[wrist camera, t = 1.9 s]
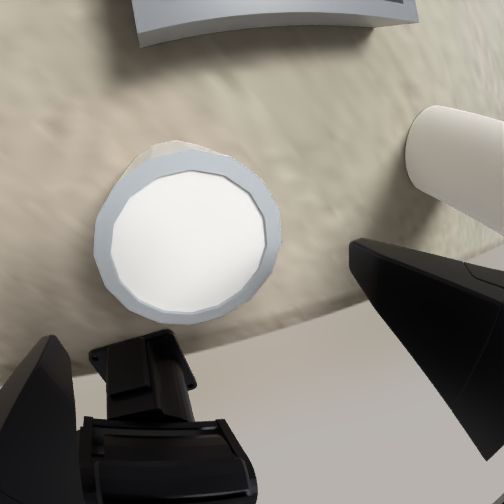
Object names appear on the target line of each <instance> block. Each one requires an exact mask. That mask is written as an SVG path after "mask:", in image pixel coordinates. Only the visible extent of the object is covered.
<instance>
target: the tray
mask: <svg viewBox="0 0 504 504" xmlns="http://www.w3.org/2000/svg"><path fill="white" fill-rule="evenodd" d="M131 1H132V7H133V13H134V18H135V24H136V30H137V35H138V41H139V46H140V48H143V47H147V46H151V45H155V44H159V43H164V42H168V41H173V40H177V39H182V38H187V37H193V36H198V35H204V34H210V33H217V32H224V31H232V30H240V29H249V28H260V27H274V26H295V25H338V26H359V27H372V28H376V27H384V26H392V25H400V24H411V23H419V20H418V14H417V8H416V3H415V0H131Z"/></svg>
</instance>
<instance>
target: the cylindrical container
mask: <svg viewBox="0 0 504 504" xmlns="http://www.w3.org/2000/svg"><path fill="white" fill-rule="evenodd" d="M405 162H406V169H407V172H408V176H409V178H410V180H411V182H412V183H413V184H414V186H415V187H416V188H417V189H419V190H420V191H422V192H424V193H426V194H428V195H430V196H432V197H434V198H436V199H438V200H440V201H442V202H444V203H446V204H448V205H450V206H452V207H454V208H455V209H457V210H459V211H461V212H463V213H465V214H467V215H468V216H470V217H472V218H474V219H475V220H477V221H479V222H481V223H482V224H484V225H486V226H488V227H489V228H491V229H493V230H494V231H496V232H498V233H499V234H501V235H503V236H504V121H500V120H497V119H493V118H490V117H486V116H482V115H478V114H474V113H470V112H466V111H462V110H458V109H453V108H449V107H444V106H436V105H434V106H430V107H428V108H426V109H424V110H423V111H422V112H421V113H420V114H419V115H418V116H417V117H416V119H415V120H414V122H413V124H412V126H411V128H410V130H409V134H408V137H407V142H406V147H405Z"/></svg>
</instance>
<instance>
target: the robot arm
mask: <svg viewBox="0 0 504 504" xmlns="http://www.w3.org/2000/svg"><path fill="white" fill-rule="evenodd" d="M349 268H350V271H351V273H352V274H353V276H354V278H355V279H356V281H357V282H358V284H359V285H360V287H361V288H362V290H363V291H364V293H365V295H366V296H367V298H368V299H369V301H370V302H371V304H372V305H373V307H374V308H375V310H376V311H377V312H378V314H379V315H380V316H381V317H382V319H383V320H384V321H385V322H386V324H387V325H388V326H389V327H390V329H391V330H392V331H393V333H394V334H395V335H396V336H397V338H398V339H399V340H400V342H402V344H403V345H404V347H405V348H406V349H407V351H408V352H409V353H410V355H411V356H412V357H413V358H414V360H415V361H416V362H417V364H418V365H419V366H420V368H421V369H422V370H423V372H424V373H425V374H426V376H427V377H428V378H429V380H430V381H431V383H432V384H433V385H434V387H435V388H436V389H437V391H438V392H439V394H440V395H441V396H442V398H443V399H444V401H445V402H446V403H447V405H448V406H449V407H450V409H451V410H452V412H453V413H454V415H455V416H456V418H457V419H458V421H459V422H460V424H461V425H462V427H463V428H464V429H465V431H466V432H467V434H468V435H469V437H470V438H471V440H472V441H473V443H474V444H475V446H476V447H477V449H478V450H479V452H480V453H481V455H482V456H483V458H484V459H485V460H486V461H488V460H489V459H490V458H491V457H492V456H493V455H494V454H495V453H496V452H497V451H498V450H499V449H500V448H501V447H502V446H503V445H504V271H500V270H495V269H491V268H486V267H482V266H477V265H474V264H470V263H466V262H464V263H463V262H462V261H458V260H454V259H450V258H446V257H442V256H438V255H434V254H430V253H426V252H421V251H417V250H413V249H409V248H405V247H400V246H396V245H392V244H387V243H383V242H379V241H374V240H370V239H365V238H359V239H357V240H354V241H351V242H350V244H349ZM166 336H169V337H168V338H165V337H166ZM94 356H96V357H94ZM89 360H90V362H91V363H92V365H93V366H94V367H95V369H96V370H97V372H98V373H99V374H100V376H101V377H102V378H103V380H104V381H105V382H106V393H107V420H105V419H94V418H93V417H88V416H84V423H83V427H80V430H78V431H76V412H75V399H74V391H73V382H72V372H71V361H70V357H69V355H68V353H67V352H66V350H65V349H64V347H63V346H62V344H61V343H60V341H59V340H58V338H57V337H56V336H55V335H48V336H44V337H42V338H41V339H40V340H39V341H38V343H37V344H36V345H35V346H34V347H33V349H32V350H31V351H30V352H29V353H28V355H27V356H26V357H25V358H24V360H23V361H22V362H21V363H20V365H19V366H18V367H17V368H16V370H15V371H14V372H13V374H12V375H11V376H10V377H9V379H8V380H7V381H6V383H5V384H4V385H3V387H2V388H1V389H0V504H256V500H257V495H258V489H257V480H256V476H255V472H254V469H253V467H252V464H251V462H250V460H249V458H248V457H247V455H246V453H245V452H244V451H243V449H242V447H241V446H240V444H239V442H238V441H237V439H236V437H235V436H234V434H233V432H232V431H231V429H230V427H229V426H228V424H227V423H226V421H225V419H217V420H215V421H202V422H195V420H194V416H193V412H192V408H191V404H190V400H189V395H188V391H189V390H192V389H195V388H196V386H197V383H196V380H195V378H194V376H193V374H192V372H191V370H190V367H189V365H188V363H187V361H186V359H185V357H184V355H183V353H182V350H181V348H180V346H179V344H178V342H177V339H176V337H175V335H174V333H173V332H172V331H171V330H168V329H167V330H162V331H159V332H155V333H152V334H148V335H145V336H141V337H138V338H134V339H131V340H127V341H124V342H120V343H117V344H113V345H109V346H106V347H102V348H98V349H94V350H92V351H90V352H89ZM493 504H504V494H502V496H500V498H498V499H497V500H496V501H495V502H494V503H493Z"/></svg>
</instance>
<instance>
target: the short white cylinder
mask: <svg viewBox="0 0 504 504" xmlns="http://www.w3.org/2000/svg"><path fill="white" fill-rule="evenodd" d="M281 243H282V239H281V224H280V210H279V208H278V206H277V204H276V203H275V201H274V199H273V197H272V195H271V193H270V192H269V190H268V188H267V186H266V184H265V182H264V181H263V179H261V178H260V177H259V176H257V175H256V174H255V173H253V172H252V171H251V170H249V169H248V168H246V167H245V166H244V165H242V164H241V163H239V162H238V161H237V160H235V159H234V158H232V157H230V156H227V155H224V154H222V153H219V152H216V151H213V150H211V149H208V148H205V147H202V146H199V145H197V144H193V143H188V142H182V141H177V140H172V141H168V142H163V143H159V144H154V145H152V146H151V147H149V148H148V149H147V150H145V151H144V152H142V153H141V154H139V155H138V156H137V157H136V158H135V159H134V160H133V161H132V163H131V164H130V165H129V167H128V168H127V169H126V171H125V172H124V173H123V175H122V176H121V177H120V179H119V180H118V181H117V183H116V184H115V186H114V187H113V189H112V191H111V193H110V194H109V196H108V198H107V200H106V201H105V203H104V205H103V207H102V208H101V210H100V212H99V214H98V216H97V218H96V223H95V235H94V250H93V256H94V259H95V261H96V264H97V267H98V269H99V272H100V275H101V277H102V280H103V282H104V285H105V287H106V288H107V289H108V290H109V291H110V292H111V293H112V294H113V295H114V296H115V297H116V298H117V299H118V300H119V301H120V302H121V303H122V304H123V305H124V306H125V307H126V308H127V309H128V310H130V311H132V312H134V313H136V314H139V315H141V316H143V317H146V318H148V319H151V320H153V321H155V322H158V323H168V324H186V325H193V324H197V323H200V322H204V321H208V320H212V319H215V318H219V317H223V316H225V315H226V314H228V313H229V312H231V311H232V310H234V309H236V308H237V307H239V306H240V305H242V304H243V303H245V302H246V301H248V300H250V299H251V298H252V297H253V295H254V294H255V293H256V292H257V291H258V289H259V288H260V287H261V286H262V284H263V283H264V282H265V281H266V279H267V278H268V277H269V276H270V274H271V273H272V270H273V267H274V264H275V261H276V258H277V255H278V252H279V249H280V246H281Z"/></svg>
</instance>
